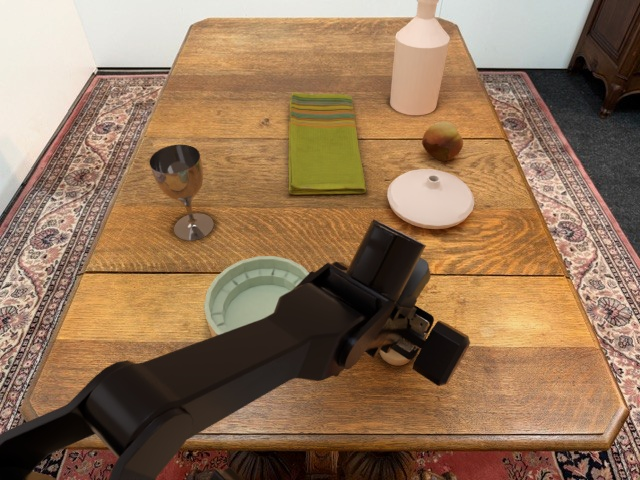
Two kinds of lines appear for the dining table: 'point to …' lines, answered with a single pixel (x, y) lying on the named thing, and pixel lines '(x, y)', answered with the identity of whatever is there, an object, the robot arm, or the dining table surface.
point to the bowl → (249, 291)
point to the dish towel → (323, 145)
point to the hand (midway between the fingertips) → (406, 316)
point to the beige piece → (393, 358)
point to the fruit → (442, 141)
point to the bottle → (419, 62)
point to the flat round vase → (430, 198)
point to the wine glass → (182, 186)
